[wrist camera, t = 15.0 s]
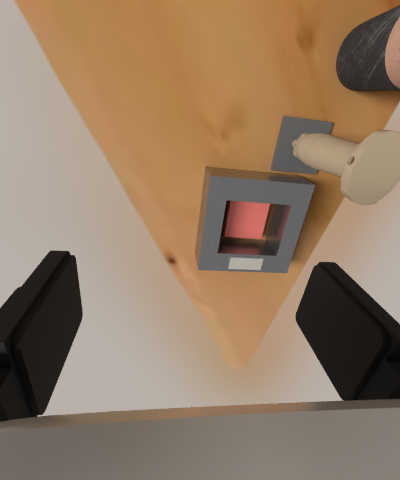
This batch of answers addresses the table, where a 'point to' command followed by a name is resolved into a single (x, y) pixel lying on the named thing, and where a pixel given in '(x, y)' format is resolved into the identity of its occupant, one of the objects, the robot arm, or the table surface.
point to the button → (245, 219)
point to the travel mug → (372, 54)
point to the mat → (287, 135)
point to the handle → (355, 162)
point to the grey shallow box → (259, 191)
